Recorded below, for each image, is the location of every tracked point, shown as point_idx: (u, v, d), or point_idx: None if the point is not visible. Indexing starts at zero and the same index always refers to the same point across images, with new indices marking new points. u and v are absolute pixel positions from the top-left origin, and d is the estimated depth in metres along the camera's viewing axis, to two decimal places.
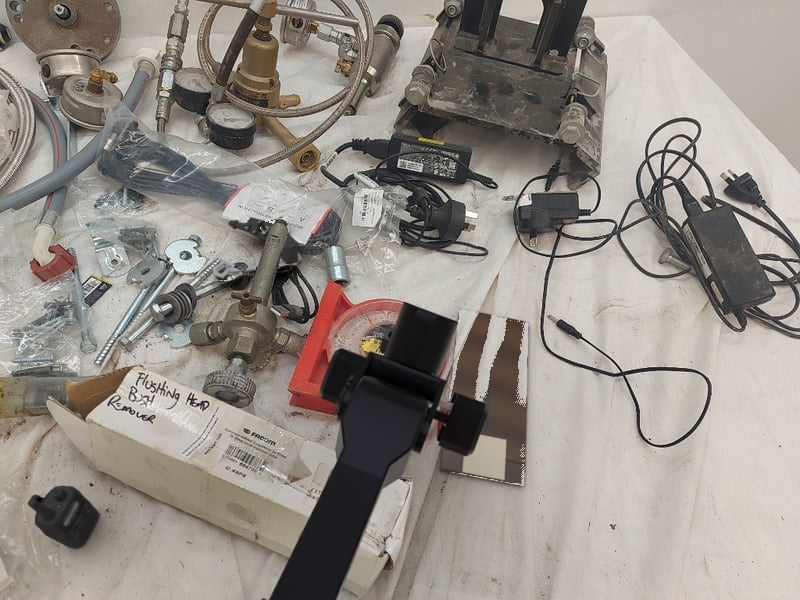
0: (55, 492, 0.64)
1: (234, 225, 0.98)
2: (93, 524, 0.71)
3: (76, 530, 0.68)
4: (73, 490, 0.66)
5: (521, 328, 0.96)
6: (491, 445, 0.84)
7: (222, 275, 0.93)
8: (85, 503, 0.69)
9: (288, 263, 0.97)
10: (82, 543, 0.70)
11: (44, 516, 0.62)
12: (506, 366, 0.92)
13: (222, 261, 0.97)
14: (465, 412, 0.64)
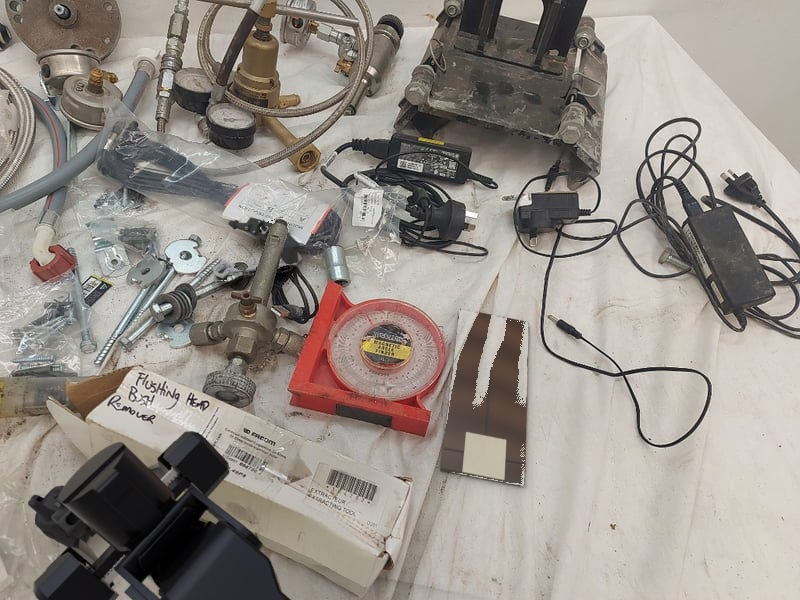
0: (55, 492, 0.64)
1: (234, 225, 0.98)
2: None
3: None
4: None
5: (521, 328, 0.96)
6: (491, 445, 0.84)
7: (222, 275, 0.93)
8: None
9: (288, 263, 0.97)
10: None
11: (44, 516, 0.62)
12: (506, 366, 0.92)
13: (222, 261, 0.97)
14: (191, 458, 0.58)
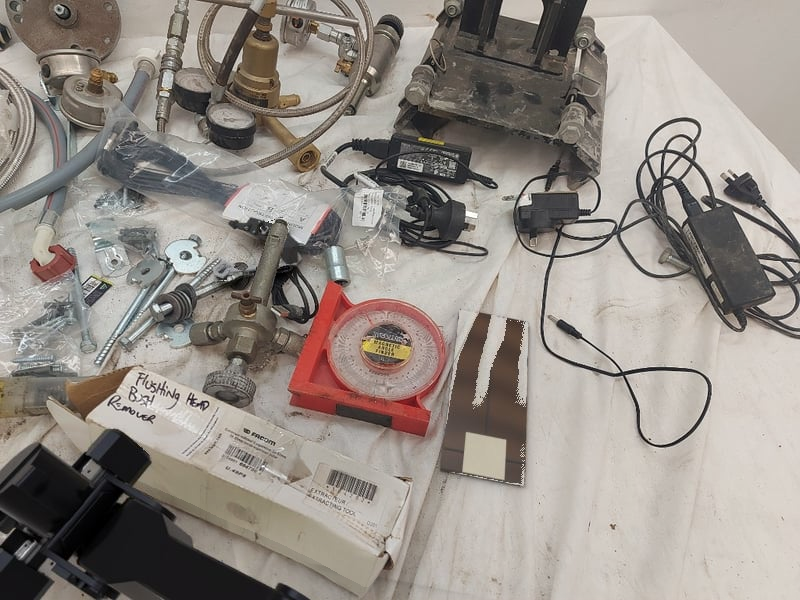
0: None
1: (234, 225, 0.98)
2: None
3: None
4: None
5: (521, 328, 0.96)
6: (491, 445, 0.84)
7: (222, 275, 0.93)
8: None
9: (288, 263, 0.97)
10: None
11: None
12: (506, 366, 0.92)
13: (222, 261, 0.97)
14: (112, 452, 0.63)
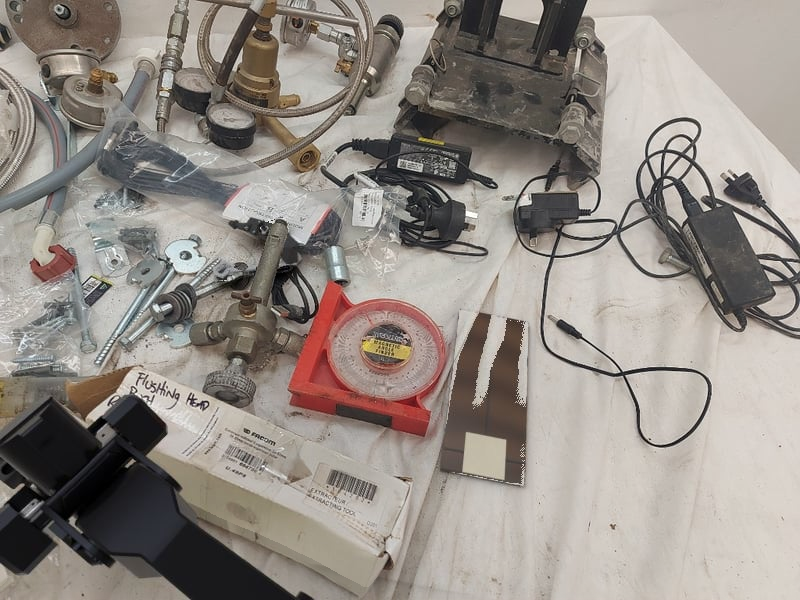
0: None
1: (234, 225, 0.98)
2: None
3: None
4: None
5: (521, 328, 0.96)
6: (491, 445, 0.84)
7: (222, 275, 0.93)
8: None
9: (288, 263, 0.97)
10: None
11: None
12: (506, 366, 0.92)
13: (222, 261, 0.97)
14: (128, 418, 0.61)
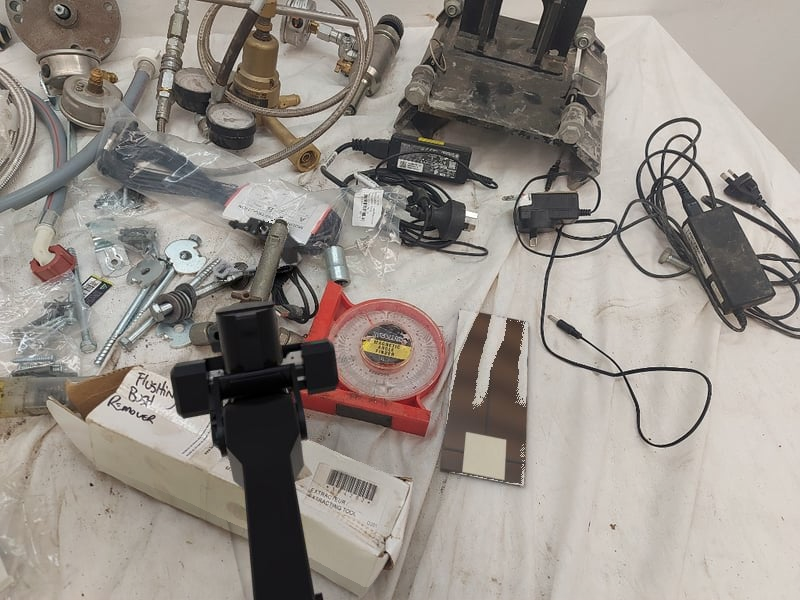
0: None
1: (234, 225, 0.98)
2: None
3: None
4: None
5: (521, 328, 0.96)
6: (491, 445, 0.84)
7: (222, 275, 0.93)
8: None
9: (288, 263, 0.97)
10: None
11: None
12: (506, 366, 0.92)
13: (222, 261, 0.97)
14: (316, 358, 0.68)
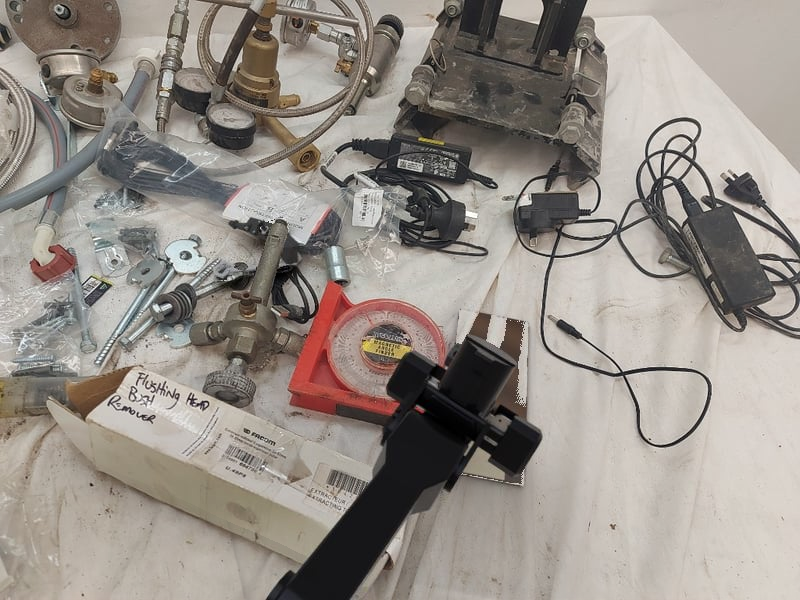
0: None
1: (234, 225, 0.98)
2: None
3: None
4: None
5: (521, 328, 0.96)
6: None
7: (222, 275, 0.93)
8: None
9: (288, 263, 0.97)
10: None
11: None
12: None
13: (222, 261, 0.97)
14: (518, 438, 0.65)
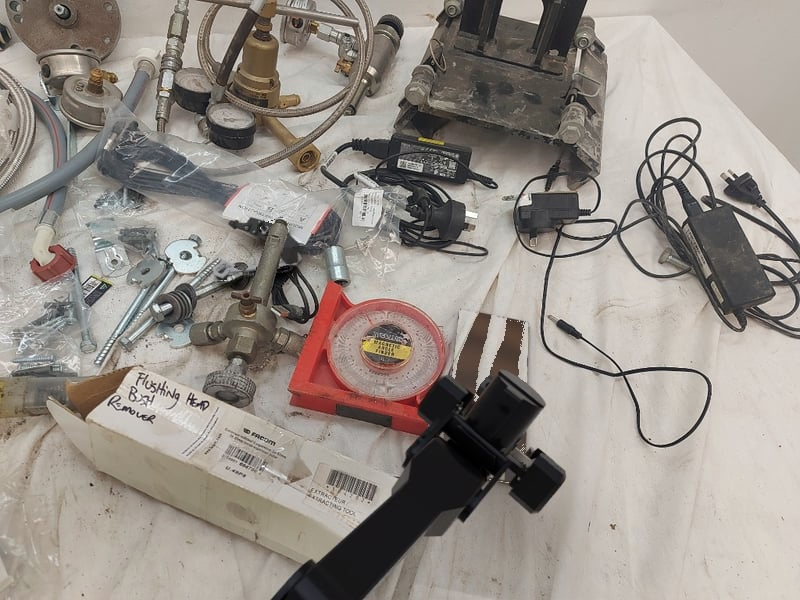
0: None
1: (234, 225, 0.98)
2: None
3: None
4: None
5: (521, 328, 0.96)
6: None
7: (222, 275, 0.93)
8: None
9: (288, 263, 0.97)
10: None
11: None
12: (506, 366, 0.92)
13: (222, 261, 0.97)
14: (540, 476, 0.66)
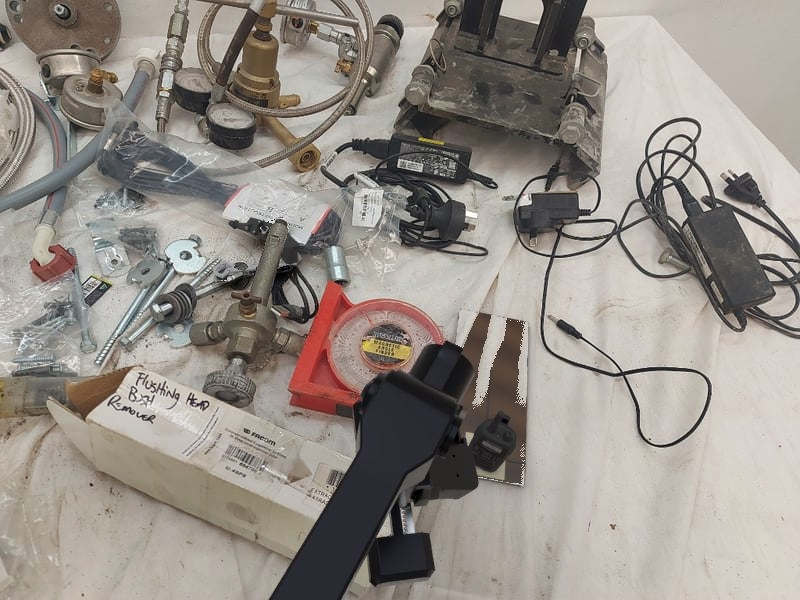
0: (509, 432, 0.73)
1: (234, 225, 0.98)
2: (483, 467, 0.80)
3: (478, 452, 0.78)
4: (511, 447, 0.74)
5: (521, 328, 0.96)
6: None
7: (222, 275, 0.93)
8: (500, 458, 0.76)
9: (288, 263, 0.97)
10: None
11: (490, 425, 0.73)
12: (506, 366, 0.92)
13: (222, 261, 0.97)
14: (417, 549, 0.55)
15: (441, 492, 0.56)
